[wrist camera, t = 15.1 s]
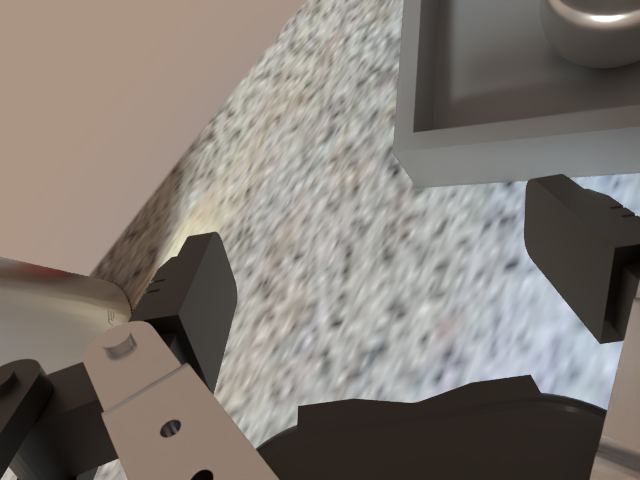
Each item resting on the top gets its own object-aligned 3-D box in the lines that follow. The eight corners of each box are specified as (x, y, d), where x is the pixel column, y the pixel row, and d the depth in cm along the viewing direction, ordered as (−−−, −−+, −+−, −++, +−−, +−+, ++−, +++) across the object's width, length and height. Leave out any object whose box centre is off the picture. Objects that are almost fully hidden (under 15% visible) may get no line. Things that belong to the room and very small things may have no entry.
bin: (417, 187, 27) (392, 152, 23) (429, -27, 31) (410, -91, 27) (897, 155, 19) (1003, 87, 14) (831, -140, 22) (898, -263, 18)
